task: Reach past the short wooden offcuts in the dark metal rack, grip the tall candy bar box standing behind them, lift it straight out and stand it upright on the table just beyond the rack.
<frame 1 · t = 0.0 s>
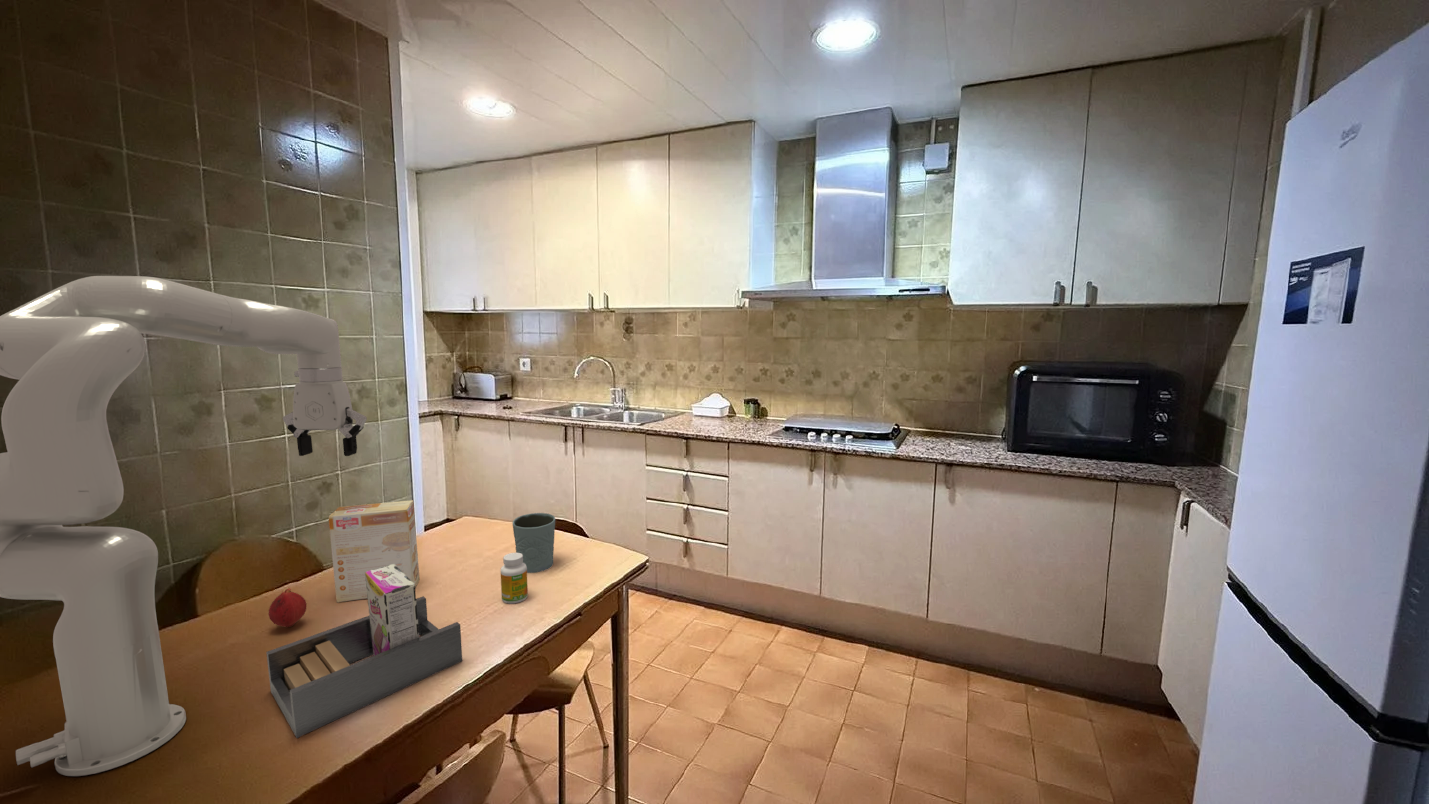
hand: (328, 454, 117), 31 cm above the table, tool pointing down, fingers open, 9 cm apart
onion: (289, 627, 107), on the table
coffeecake box: (379, 591, 121), on the table
candy bar box: (396, 665, 95), resting in rack
grey green cup: (536, 566, 135), on the table
supplement bottle: (515, 599, 119), on the table
rack: (371, 675, 92), on the table
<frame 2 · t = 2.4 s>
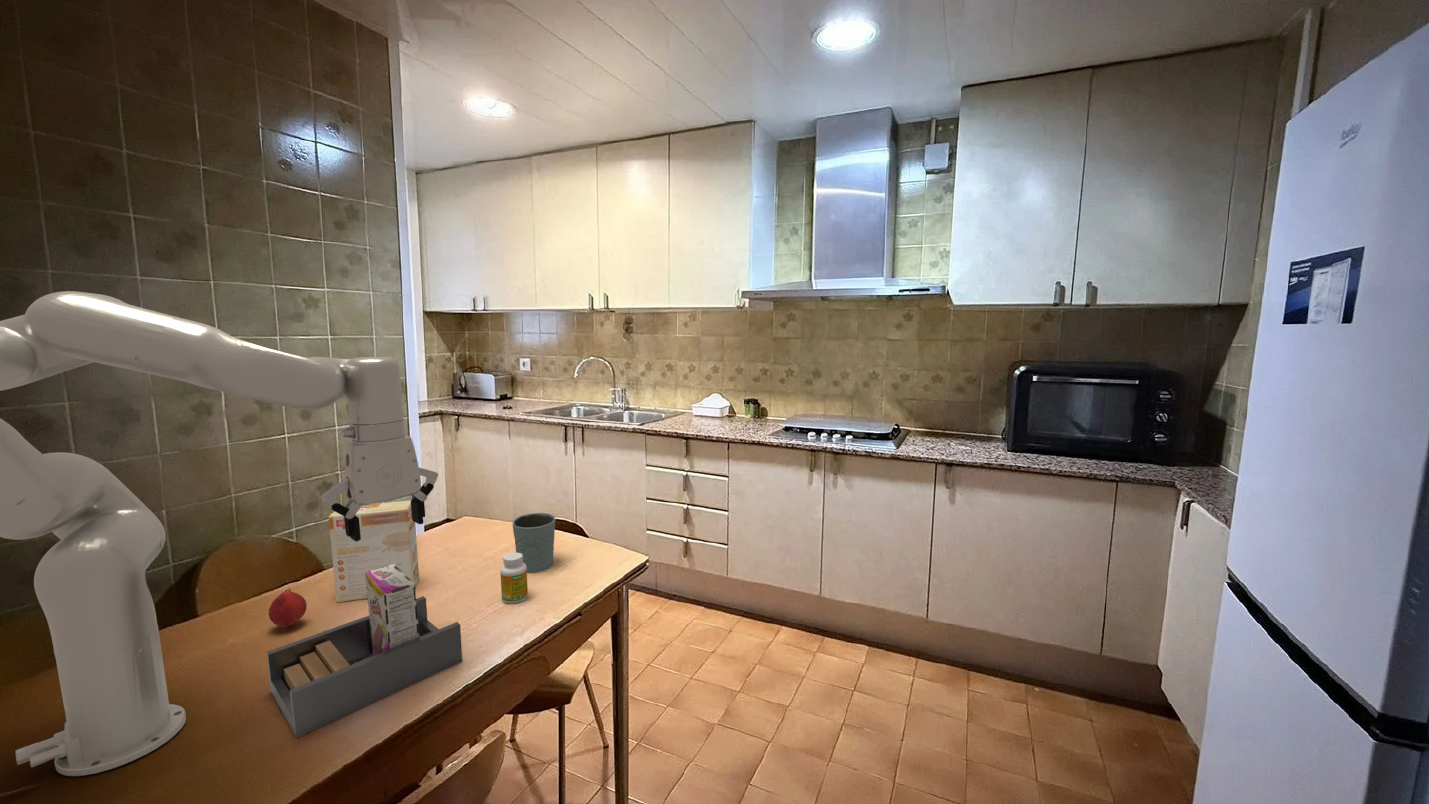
hand: (387, 530, 92), 25 cm above the table, tool pointing down, fingers open, 9 cm apart
nothing on the table moved.
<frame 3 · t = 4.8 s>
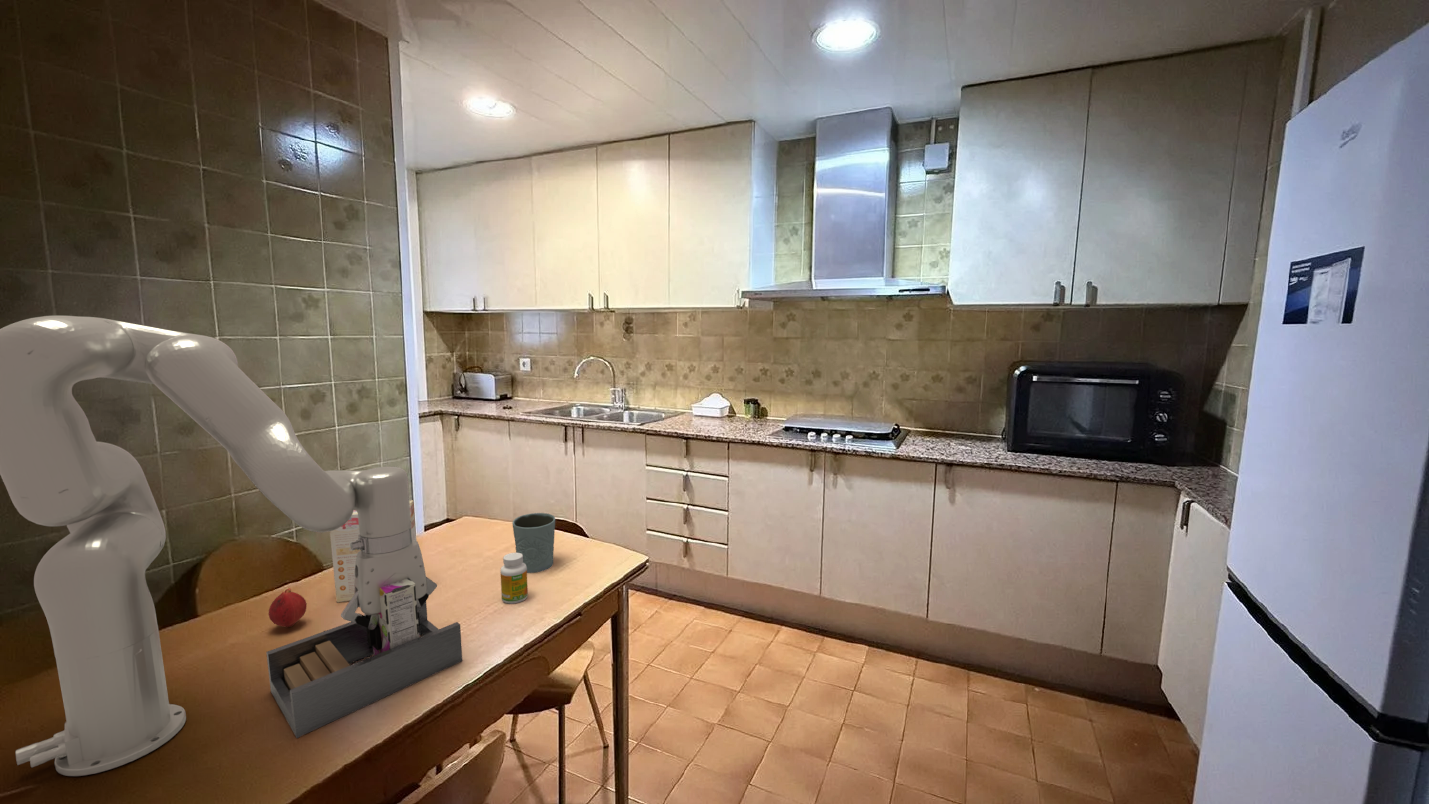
hand: (394, 638, 94), 5 cm above the table, tool pointing down, fingers closed on candy bar box, 5 cm apart
candy bar box: (396, 665, 95), resting in rack, touching gripper
everything else where it was.
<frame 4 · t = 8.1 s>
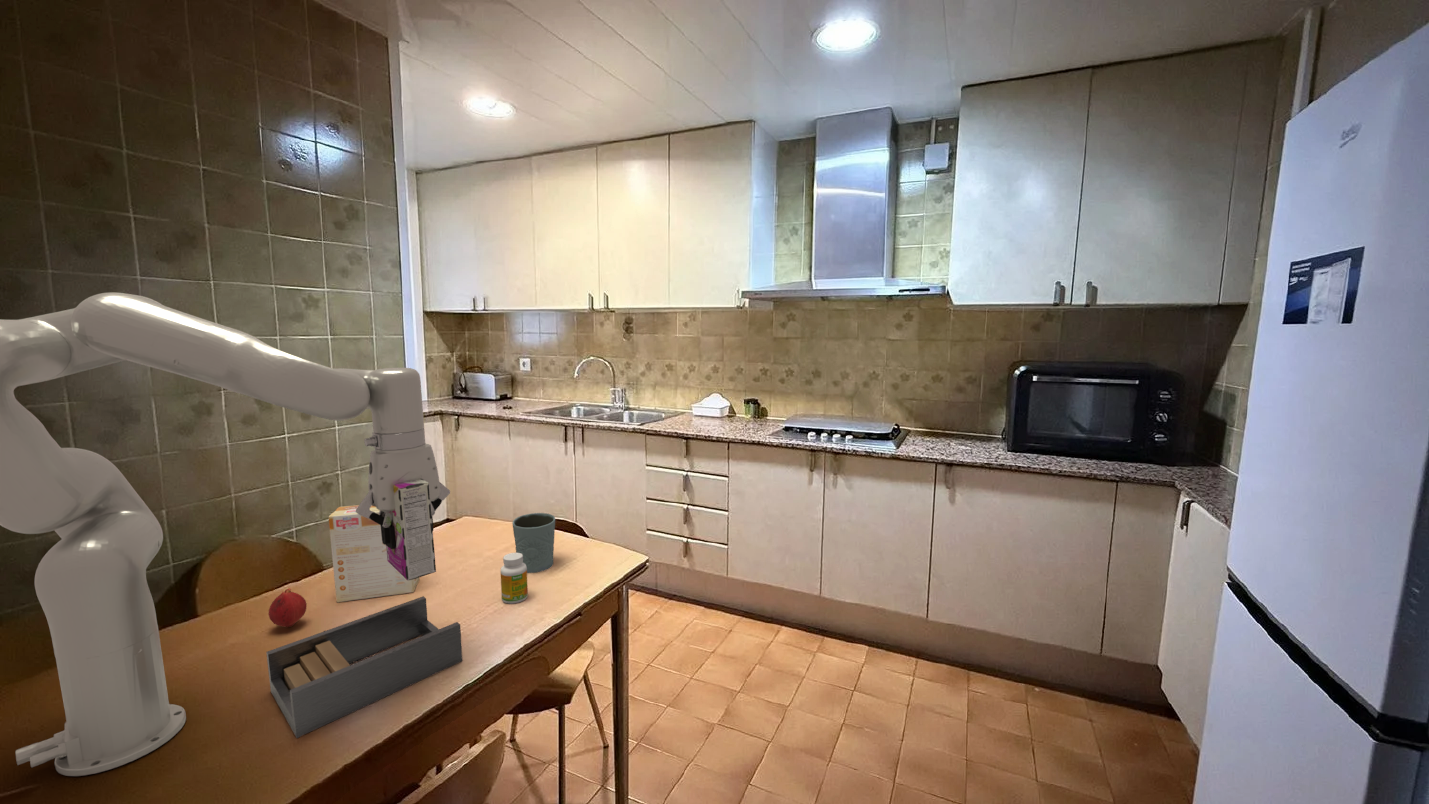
hand: (408, 540, 95), 22 cm above the table, tool pointing down, fingers closed on candy bar box, 5 cm apart
candy bar box: (410, 568, 95), point 17 cm above the table, touching gripper
everything else where it was.
when the fingers open (6 cm above the table, at t = 11.9 s): candy bar box drops 1 cm, on the table.
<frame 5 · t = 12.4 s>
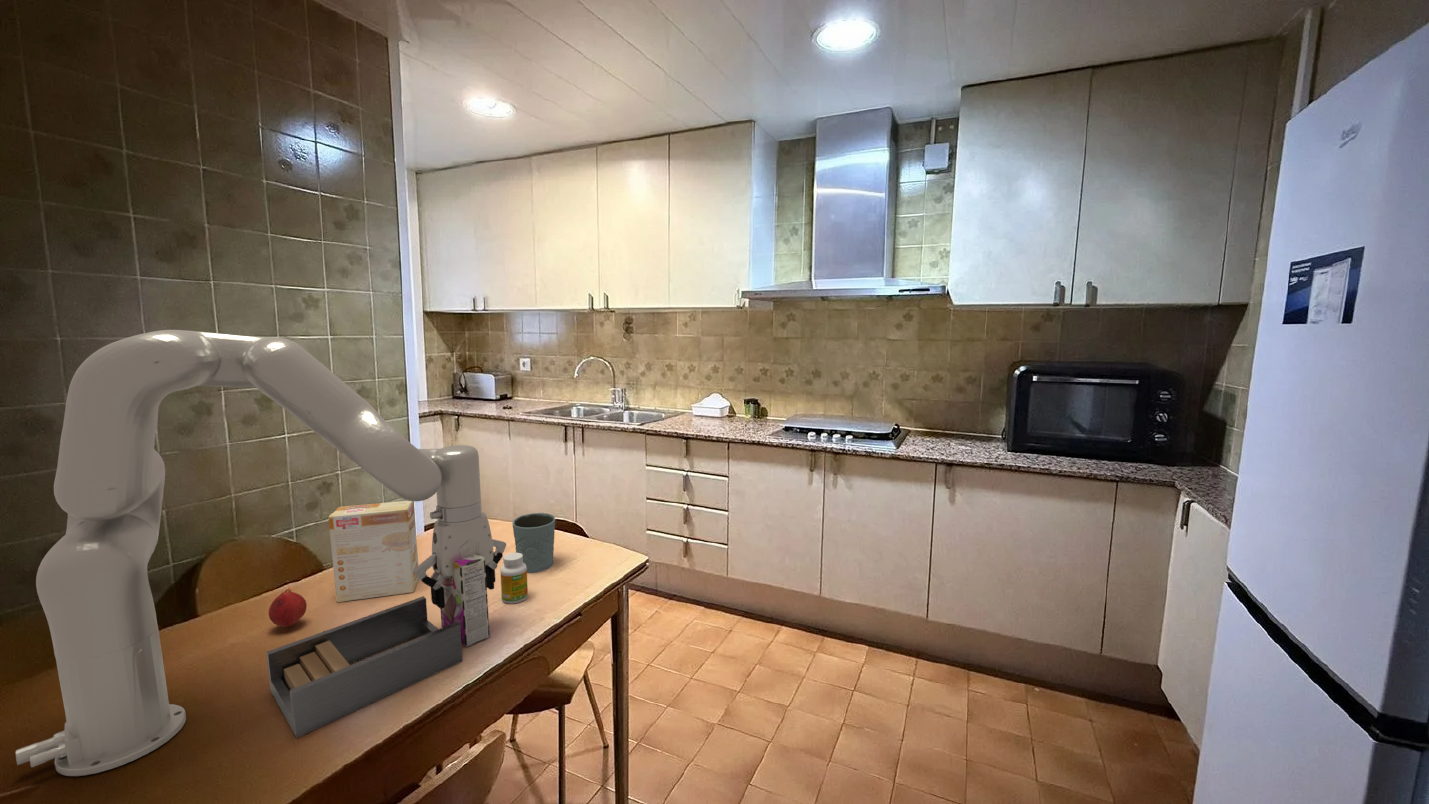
hand: (465, 596, 104), 7 cm above the table, tool pointing down, fingers open, 9 cm apart
candy bar box: (464, 633, 105), on the table
everything else where it was.
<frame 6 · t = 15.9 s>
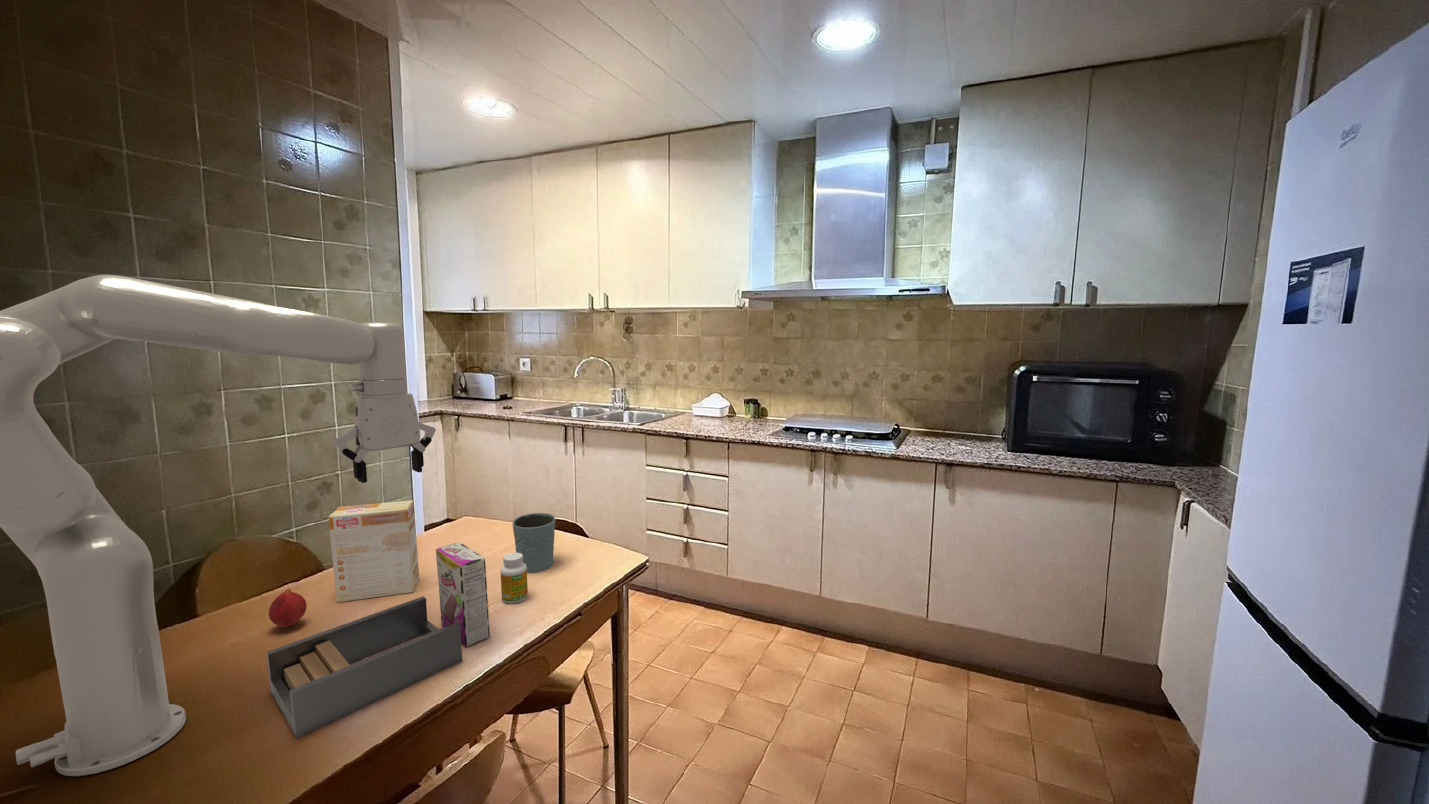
hand: (390, 476, 104), 30 cm above the table, tool pointing down, fingers open, 9 cm apart
nothing on the table moved.
at the end: candy bar box inside the target area (0.4 cm from its centre), on the table; candy bar box tilted 0°; the gripper is holding nothing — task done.
